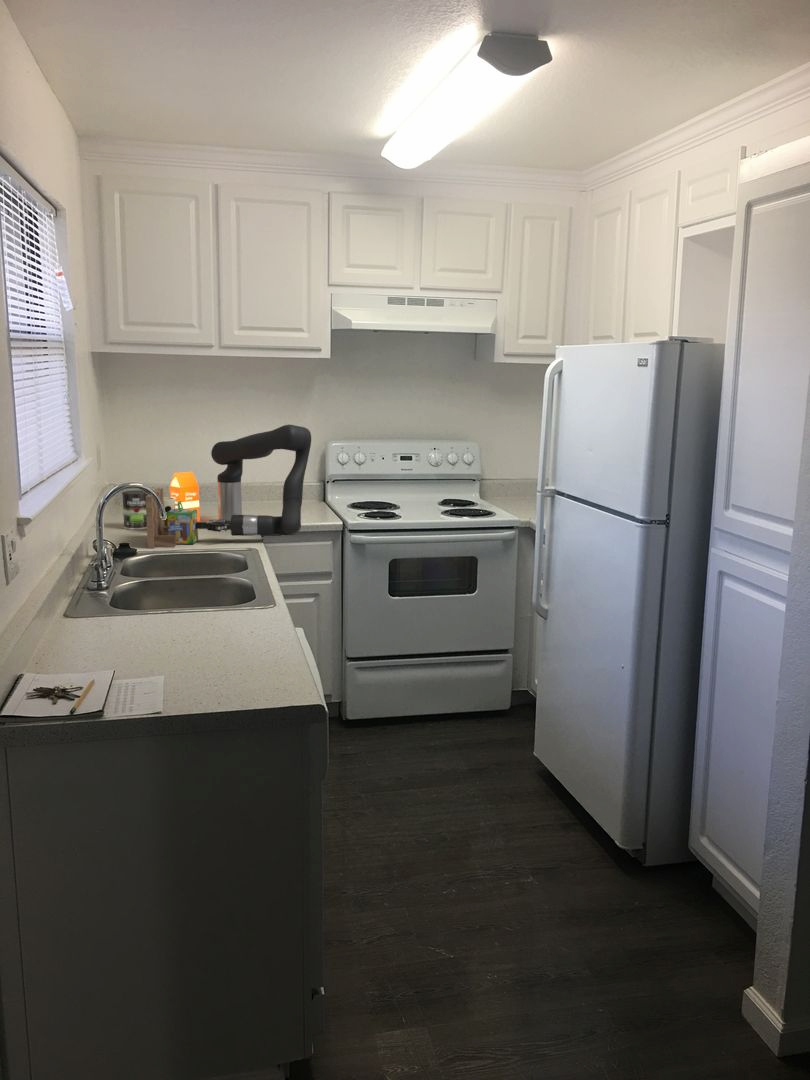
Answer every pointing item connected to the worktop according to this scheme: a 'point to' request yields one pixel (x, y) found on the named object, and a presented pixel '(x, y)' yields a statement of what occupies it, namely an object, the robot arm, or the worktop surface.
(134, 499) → the coffee can
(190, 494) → the orange juice
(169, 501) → the character mug
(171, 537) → the display bay
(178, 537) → the chalk box
